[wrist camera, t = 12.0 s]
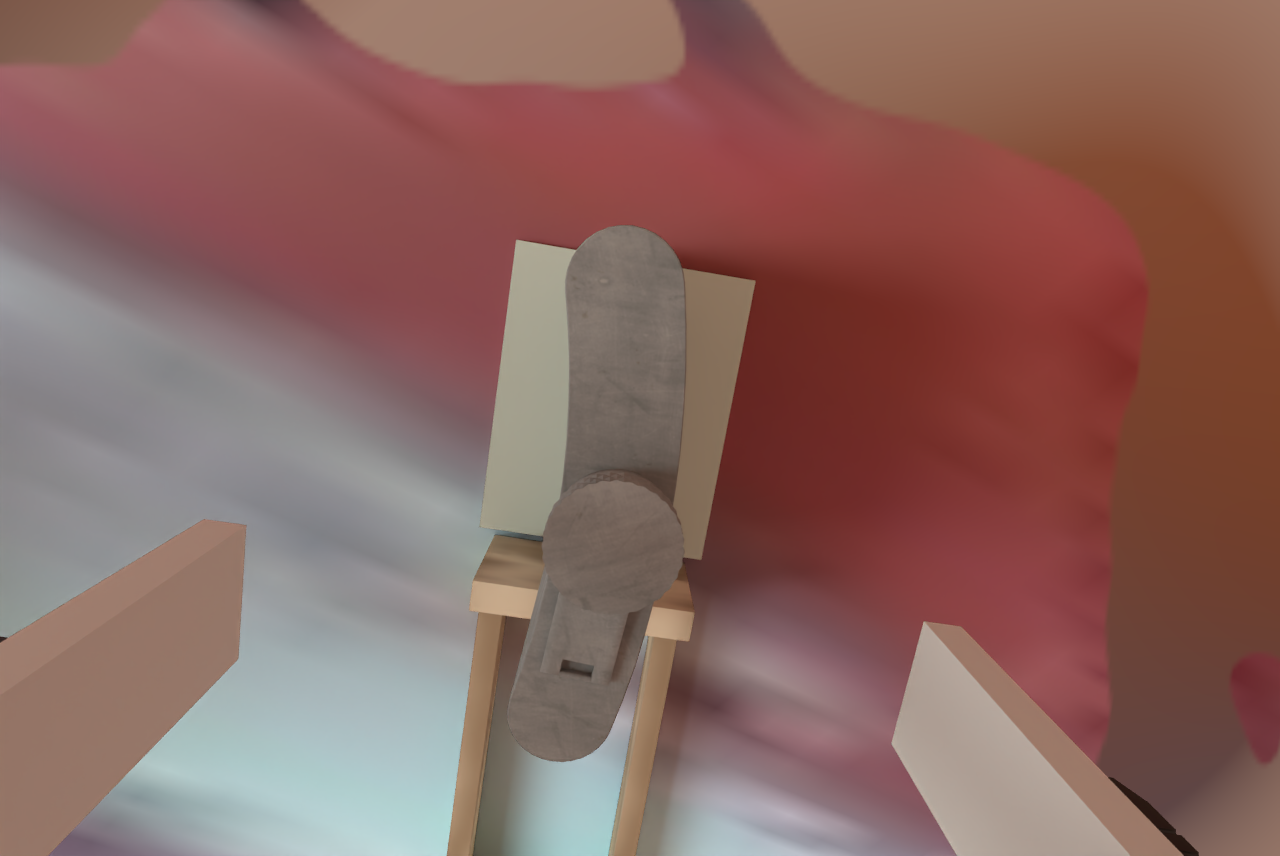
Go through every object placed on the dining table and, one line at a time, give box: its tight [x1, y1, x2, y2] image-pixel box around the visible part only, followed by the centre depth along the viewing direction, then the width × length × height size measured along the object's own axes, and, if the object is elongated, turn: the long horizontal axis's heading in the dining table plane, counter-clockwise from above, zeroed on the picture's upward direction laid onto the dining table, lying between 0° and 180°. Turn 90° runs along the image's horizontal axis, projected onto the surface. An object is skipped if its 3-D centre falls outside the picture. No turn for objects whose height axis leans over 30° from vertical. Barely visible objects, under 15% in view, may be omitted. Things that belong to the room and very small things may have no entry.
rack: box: [447, 535, 695, 856], centre depth 39 cm, size 10×22×6 cm, turn 171°
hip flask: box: [507, 225, 687, 762], centre depth 28 cm, size 16×4×20 cm, turn 171°
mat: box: [480, 240, 756, 560], centre depth 38 cm, size 12×15×1 cm
